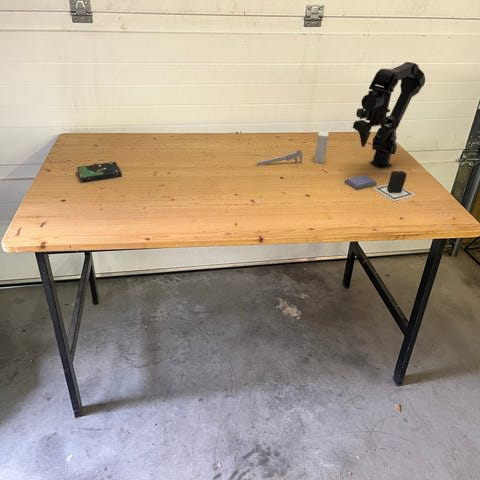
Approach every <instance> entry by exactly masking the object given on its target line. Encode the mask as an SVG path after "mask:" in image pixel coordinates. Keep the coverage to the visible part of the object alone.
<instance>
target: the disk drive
mask: <svg viewBox="0 0 480 480" xmlns="http://www.w3.org/2000/svg"><path fill="white" fill-rule="evenodd" d="M76 171H77V174H78V176H79V179H80V181H81V183H82V184H84V183H85V184H86V183H91V182H97V181H104V180H110V179H111V180H112V179H117V178H122V176H123V175H122V171H121V169H120V167H119V166H118V164H117V162H116V161H110V162H102V163H97V164H89V165H82V166H76Z"/></svg>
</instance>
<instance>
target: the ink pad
mask: <svg viewBox="0 0 480 480" xmlns="http://www.w3.org/2000/svg"><path fill="white" fill-rule="evenodd" d="M344 184H346V185H347V186H349V187H351V188H352V189H353V190H355V191H358V190H359V191H360V190H363V189H367V188H368V189H369V188H371V187H372V188H373V187H376V186H377V184H378V182H376V180H374V179H373V178H371V177H369V176H367V175H365V174H363V175H358V176H355V177H354V176H353V177H350V178H347V179H345V180H344Z"/></svg>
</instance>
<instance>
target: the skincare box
mask: <svg viewBox="0 0 480 480" xmlns="http://www.w3.org/2000/svg"><path fill="white" fill-rule="evenodd" d="M328 140H329V131H324V130H319V131H318V135H317V139H316V147H315V153H314V160H313V162H314V163H316V164H325V159H326V158H325V157H326V152H327V146H328Z"/></svg>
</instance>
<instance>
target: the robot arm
mask: <svg viewBox="0 0 480 480" xmlns="http://www.w3.org/2000/svg"><path fill="white" fill-rule="evenodd" d="M374 75H375V76H374V77H373V79H372V80H371V83H370V85H369V87H368V89H369V90H368V94H365V95H364V96H363V98H362V99H361V106H362V108H357V109H356V117H357V118H359V120H355V121H354V122H353V125H352V129H354V130H355V131H357V132H358V134H359V138H360V145H361V148H364V147H366V144H367V142H368V140H369V137H370V135H371V134H372V132H371V130H372V128H375V127H379V128H378V129H377V131H376V134H375V135H374V137H373V139H372V145H371V146H372V147H371V148H372V150H374V154H373V158H372V160H370V161H369V163H370V164H372V165H374V166H375V167H377V168H379V169H383V168H388V167H392V164H391V163H390V160H391V157H392V155H395V154H396V152H397V150H398V145H397V143H396V141H397V129H398V127H399V125H400V123H401V121H402V118H403V116H404V115H405V112H406V110H407V108H408V107H409V105H410V103H411V100H412V98H413V97H414V96H416V95H418V94H419V93H420V91H421V89H422V88H423V87H424V85H425V84H426V83H425V82H426V76H425V73H424V71H422V69H420V67H419V65H418V64H417V63H415V62H411V61H410V62H409V61H407V62H404V63H403V64H400V65H398V66H396V67H394V68H380V69H378V71H377V72H376V73H375V74H374ZM399 81H400V84H399V85H400V86H399V87H400V93H399V96H398V97H397V100H396V103H395V104H394V107H393V109H392V111H391V109H390V108H389V106H390V101H391V96H392V93H393V92H395V88H396V86H397V85H398V83H399ZM390 112H391V113H390ZM388 113H390V114H389V115H387V114H388ZM363 119H365V120H363Z"/></svg>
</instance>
